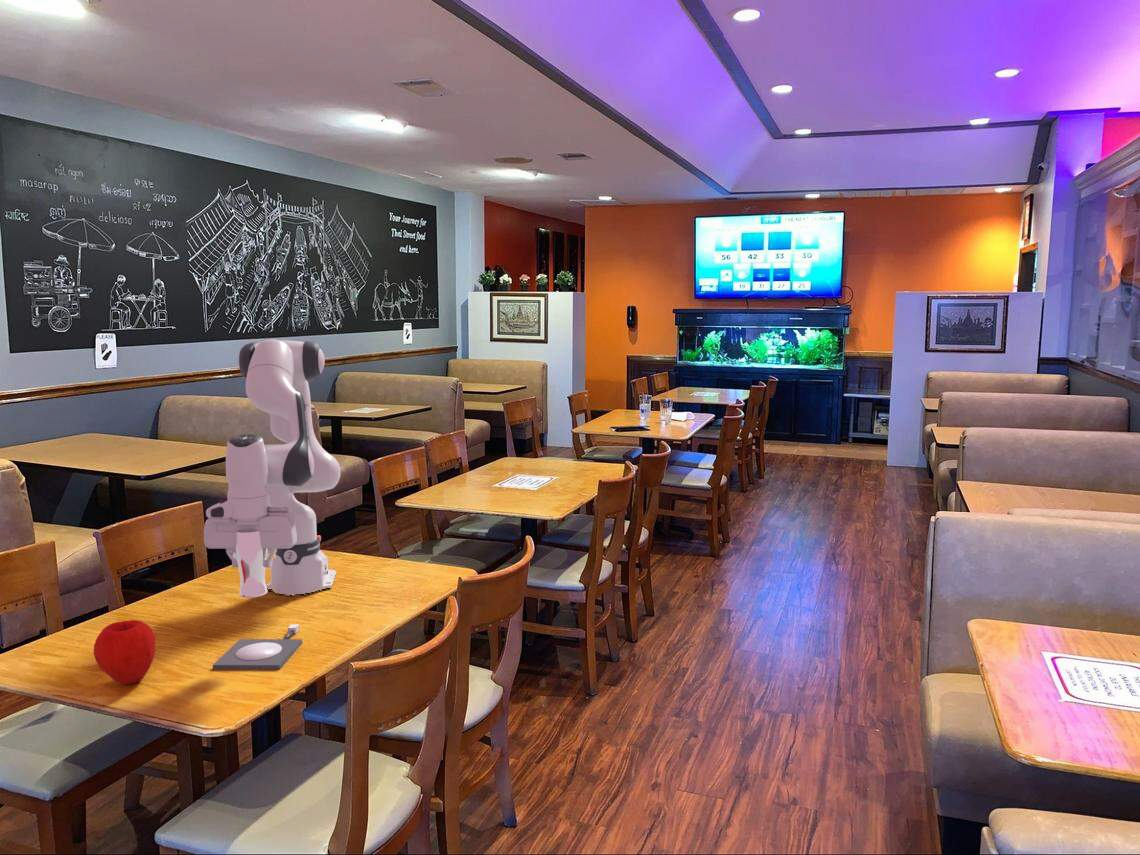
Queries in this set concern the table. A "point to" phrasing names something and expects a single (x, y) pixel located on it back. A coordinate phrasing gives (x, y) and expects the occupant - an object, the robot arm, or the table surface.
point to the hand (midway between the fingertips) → (252, 566)
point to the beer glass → (250, 564)
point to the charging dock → (260, 652)
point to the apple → (125, 650)
